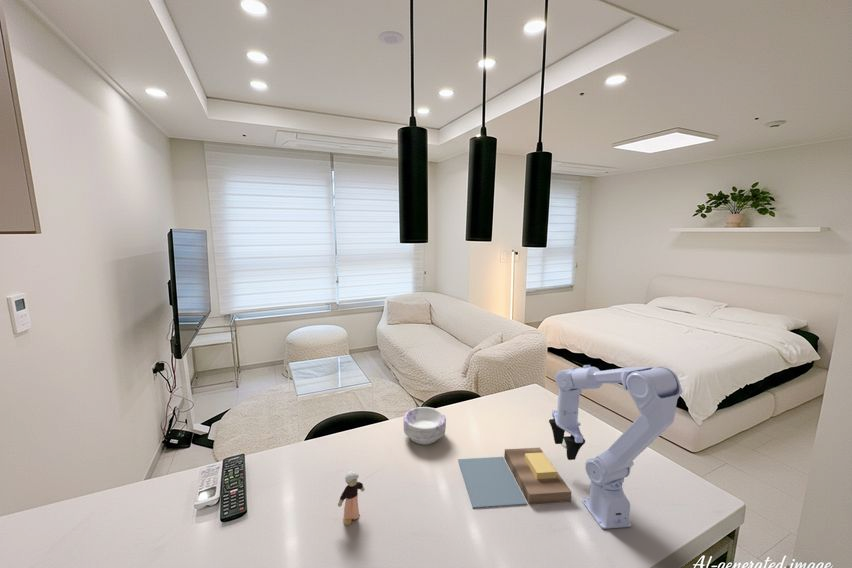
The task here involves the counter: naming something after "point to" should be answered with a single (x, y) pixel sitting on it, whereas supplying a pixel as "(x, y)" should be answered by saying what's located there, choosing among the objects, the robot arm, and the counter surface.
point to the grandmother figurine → (351, 497)
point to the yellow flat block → (540, 466)
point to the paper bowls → (424, 424)
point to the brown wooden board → (529, 485)
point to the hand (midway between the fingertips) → (564, 450)
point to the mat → (490, 483)
